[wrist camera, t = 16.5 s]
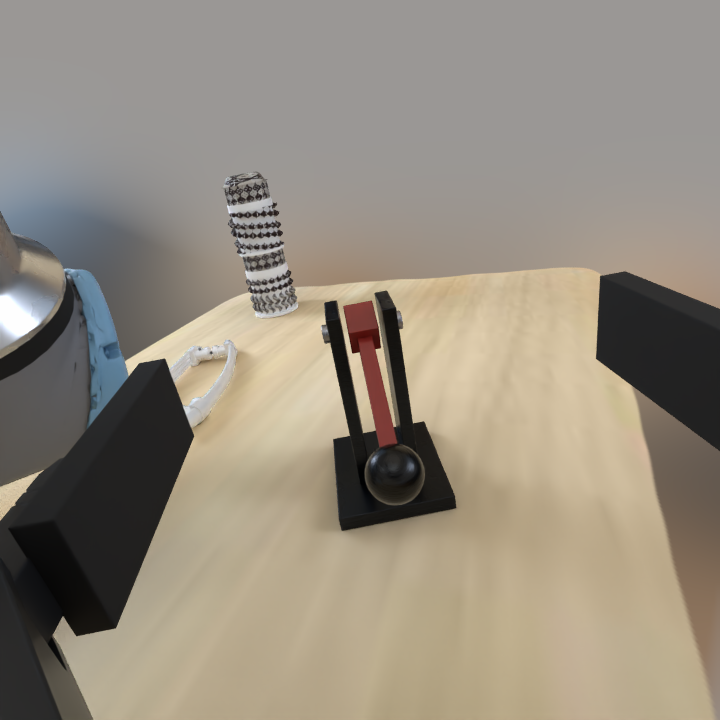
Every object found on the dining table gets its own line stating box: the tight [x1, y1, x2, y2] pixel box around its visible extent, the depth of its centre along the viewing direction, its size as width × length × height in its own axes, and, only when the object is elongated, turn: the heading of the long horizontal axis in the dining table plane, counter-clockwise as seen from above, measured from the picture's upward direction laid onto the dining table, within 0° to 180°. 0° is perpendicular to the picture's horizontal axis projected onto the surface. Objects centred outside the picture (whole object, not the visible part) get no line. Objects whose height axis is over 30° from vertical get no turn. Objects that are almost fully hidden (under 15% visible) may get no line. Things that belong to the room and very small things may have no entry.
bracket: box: [321, 291, 456, 531], centre depth 38 cm, size 11×9×16 cm
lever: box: [343, 301, 425, 505], centre depth 32 cm, size 15×4×4 cm, turn 6°
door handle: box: [169, 340, 237, 428], centre depth 64 cm, size 3×10×25 cm
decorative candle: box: [223, 172, 298, 318], centre depth 87 cm, size 9×9×25 cm
